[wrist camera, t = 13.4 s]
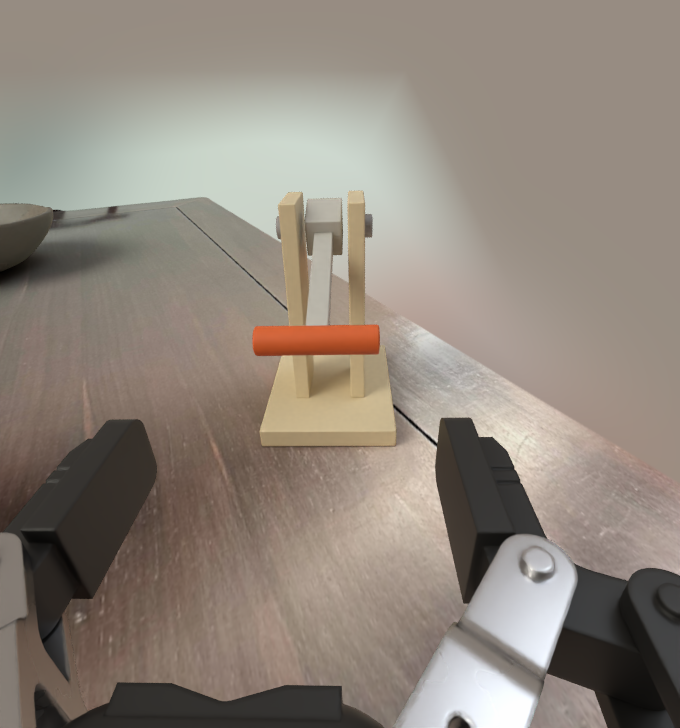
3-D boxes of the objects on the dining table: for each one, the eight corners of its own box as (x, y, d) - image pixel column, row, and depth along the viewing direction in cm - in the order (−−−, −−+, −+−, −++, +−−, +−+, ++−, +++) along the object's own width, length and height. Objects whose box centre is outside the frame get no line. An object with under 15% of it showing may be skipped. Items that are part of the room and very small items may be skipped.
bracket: (395, 446, 29) (408, 215, 21) (261, 446, 29) (226, 218, 21) (384, 357, 39) (389, 181, 31) (285, 358, 39) (267, 184, 32)
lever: (378, 367, 21) (380, 332, 19) (257, 368, 21) (248, 334, 20) (370, 230, 29) (371, 196, 27) (282, 232, 29) (277, 198, 27)
